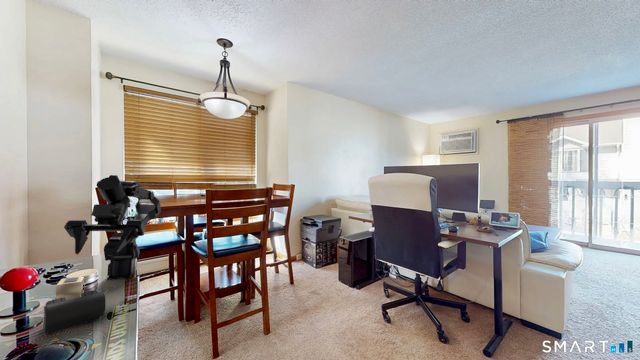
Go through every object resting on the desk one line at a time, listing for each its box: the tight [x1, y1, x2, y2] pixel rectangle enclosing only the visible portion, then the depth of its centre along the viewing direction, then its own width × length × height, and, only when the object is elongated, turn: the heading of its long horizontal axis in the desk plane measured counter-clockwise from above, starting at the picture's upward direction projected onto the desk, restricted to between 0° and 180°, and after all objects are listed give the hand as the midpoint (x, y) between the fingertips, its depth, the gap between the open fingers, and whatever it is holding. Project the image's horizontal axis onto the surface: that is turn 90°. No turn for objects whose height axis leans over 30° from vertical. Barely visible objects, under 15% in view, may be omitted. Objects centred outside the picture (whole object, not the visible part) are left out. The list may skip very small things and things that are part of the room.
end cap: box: [42, 289, 107, 336], centre depth 58 cm, size 10×7×7 cm
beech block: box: [55, 276, 85, 300], centre depth 71 cm, size 5×5×5 cm
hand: (96, 252), depth 70 cm, fingers open, 9 cm apart
